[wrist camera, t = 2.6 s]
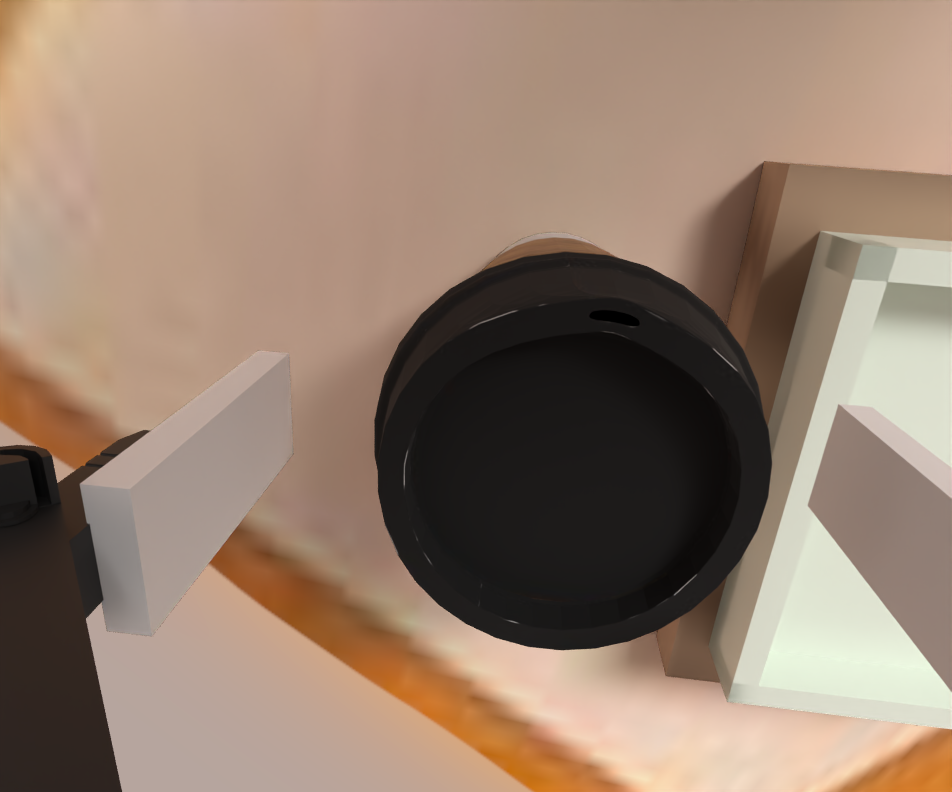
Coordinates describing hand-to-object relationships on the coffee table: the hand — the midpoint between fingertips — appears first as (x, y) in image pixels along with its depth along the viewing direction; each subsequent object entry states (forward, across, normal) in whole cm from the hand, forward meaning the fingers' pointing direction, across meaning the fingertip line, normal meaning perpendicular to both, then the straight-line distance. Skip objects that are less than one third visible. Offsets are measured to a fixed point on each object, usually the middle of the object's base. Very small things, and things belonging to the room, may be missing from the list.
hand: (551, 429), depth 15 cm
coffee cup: (+11, 0, 0) cm, 11 cm away
